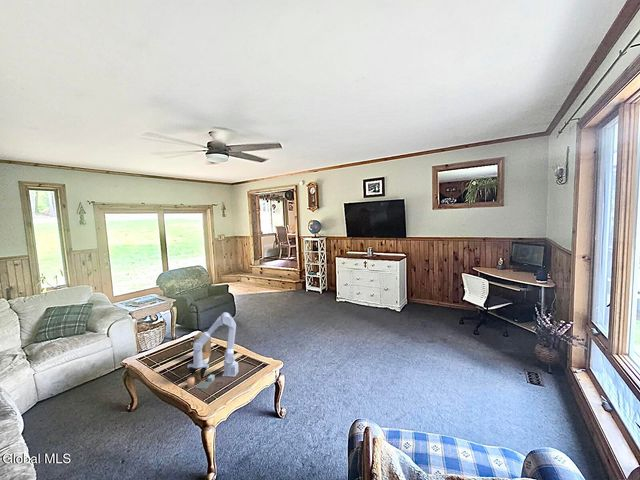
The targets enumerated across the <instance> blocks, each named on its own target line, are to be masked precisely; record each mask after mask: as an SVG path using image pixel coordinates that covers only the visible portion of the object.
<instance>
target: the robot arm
mask: <svg viewBox="0 0 640 480" xmlns="http://www.w3.org/2000/svg"><path fill="white" fill-rule="evenodd" d="M221 326H227V327H228V334H227V342H226V343H227V345H226V349H225V352H224V354H223V356H224V361H223V373H222V375H221V377H228V378H229V377H230V378H231V377H234V378H235V377H236V376H237V374H238V373H239V362H238V361H236V360H235V355H234V354H235V353H234V350H235V349H234V348H235V339H236V332H237V331H236V330H237V324H236V321H235V320H234V317H233V316H232V315H231V313H229V312H227V311H226V312H225V311H224V312H222V313H221V315H219V316H218V318H217V319H216V320H215V321H214V322H213V324H212V325H211V326H210V327H209V329H208V330H207V331H203V332H204V333H202V334H201V336H200V338H199V339H197V340H196V341H195V342H194V341H193V344H192V348H193V352H192V353H193V354H192V355H193V363H188V364H187V369H188V371H189V372H190V374H191V377H193V374H194V373H195V372H196V371H197V369H200V370H199V371H200V372H201V379H203V380H204V379H205V375H206V372H207V370H208V369H209V367H210V365H209V364H208V363H207V364H203V358H202V348H203V345H204V344H205V343H206V342H207V341H208V340H209V339H210V338H211V339H212V337H211V335H212V334H213V333H214V332H215V331H216V330H217V329H218V328H219V327H221Z"/></svg>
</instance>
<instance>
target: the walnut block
mask: <svg viewBox="0 0 640 480" xmlns="http://www.w3.org/2000/svg"><path fill="white" fill-rule="evenodd" d="M193 377H194V378H195V383H200V382H201V381H203V380H204V378H203V379H201V372H200V370H196V372H195V373H194V374H193Z"/></svg>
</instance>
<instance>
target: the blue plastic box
mask: <svg viewBox="0 0 640 480" xmlns="http://www.w3.org/2000/svg"><path fill="white" fill-rule="evenodd" d="M215 376H216V375H215V374H209V376H207V382H212V383H213V382H214V380H215V379H216V377H215Z"/></svg>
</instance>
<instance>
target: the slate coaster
mask: <svg viewBox="0 0 640 480" xmlns="http://www.w3.org/2000/svg"><path fill="white" fill-rule="evenodd" d="M212 383H213V381H212V382H208V380H207V381H203V380H202V381H201V382H198V384H197V385H196V386H194V389H198V390H201V389H202V390H207V389H208V388H209V387H210V386H211V384H212Z"/></svg>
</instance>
